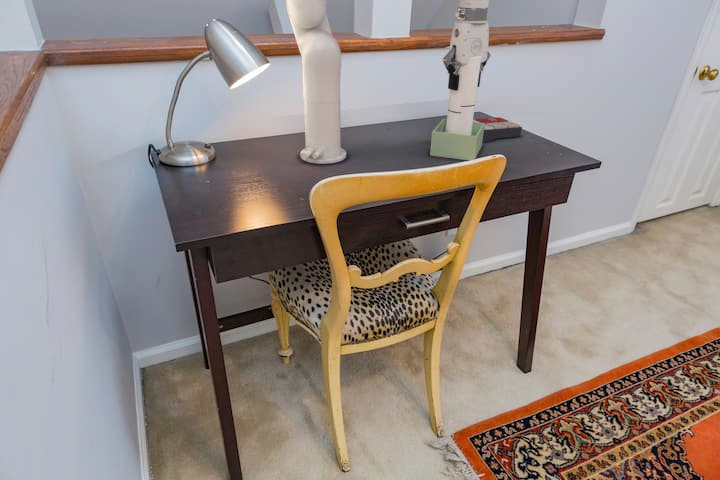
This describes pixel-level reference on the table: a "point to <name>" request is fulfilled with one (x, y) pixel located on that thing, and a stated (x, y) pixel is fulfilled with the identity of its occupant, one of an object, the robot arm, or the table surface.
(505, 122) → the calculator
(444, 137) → the tote
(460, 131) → the cylindrical container
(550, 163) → the table surface
